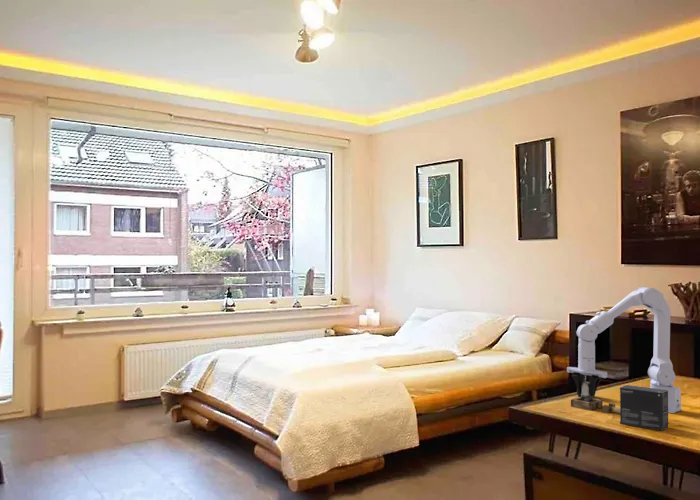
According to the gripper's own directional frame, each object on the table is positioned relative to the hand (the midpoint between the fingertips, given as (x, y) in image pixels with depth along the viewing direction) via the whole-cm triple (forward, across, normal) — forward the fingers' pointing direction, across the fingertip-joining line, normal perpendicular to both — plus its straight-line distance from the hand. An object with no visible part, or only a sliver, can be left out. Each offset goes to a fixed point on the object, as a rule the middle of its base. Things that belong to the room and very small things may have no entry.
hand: (586, 394), depth 222 cm
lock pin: (+4, +12, 0) cm, 12 cm away
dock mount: (+4, +3, 0) cm, 5 cm away
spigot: (+2, 0, 0) cm, 2 cm away
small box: (+4, +24, -10) cm, 27 cm away
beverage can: (+4, -8, +16) cm, 19 cm away
